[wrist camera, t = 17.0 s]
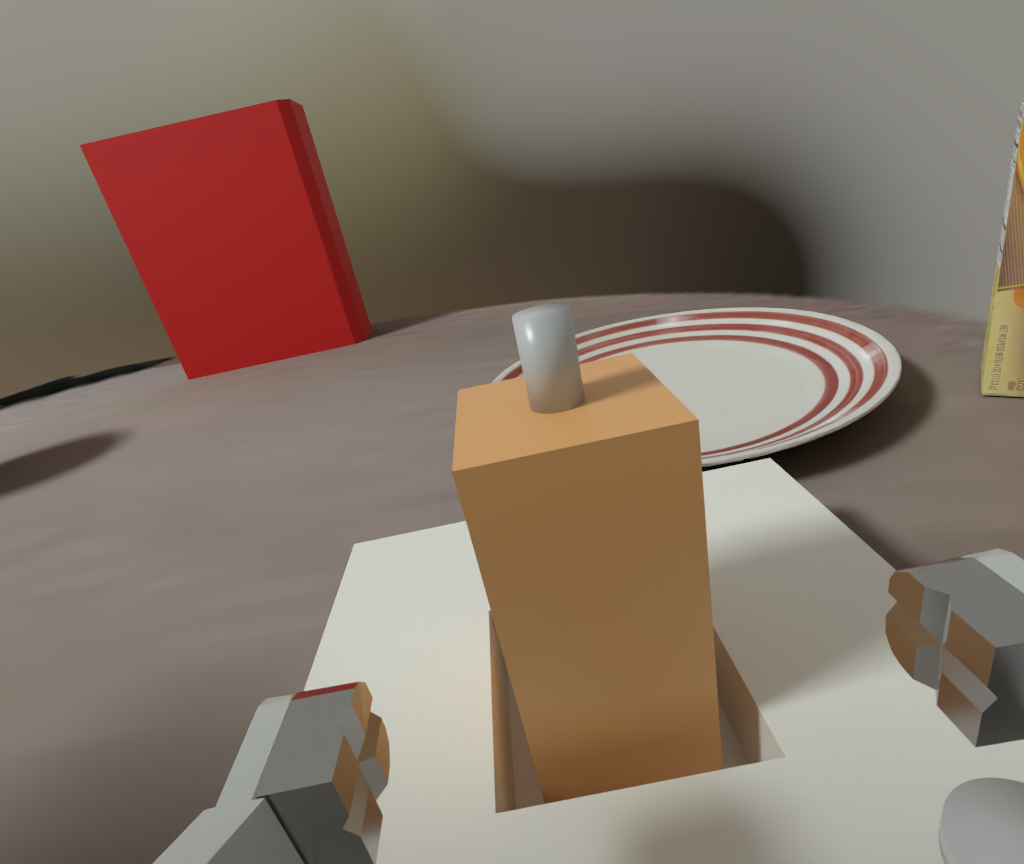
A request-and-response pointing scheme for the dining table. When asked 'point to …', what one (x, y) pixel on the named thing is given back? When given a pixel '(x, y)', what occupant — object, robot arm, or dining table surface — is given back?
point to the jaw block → (593, 561)
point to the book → (234, 236)
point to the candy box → (1008, 290)
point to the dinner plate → (754, 373)
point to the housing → (741, 700)
